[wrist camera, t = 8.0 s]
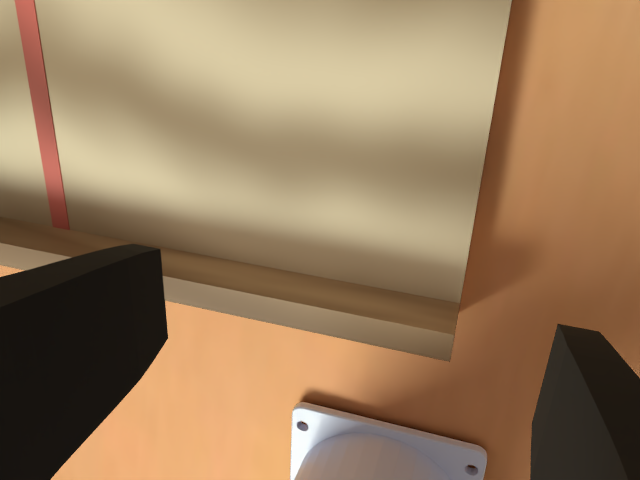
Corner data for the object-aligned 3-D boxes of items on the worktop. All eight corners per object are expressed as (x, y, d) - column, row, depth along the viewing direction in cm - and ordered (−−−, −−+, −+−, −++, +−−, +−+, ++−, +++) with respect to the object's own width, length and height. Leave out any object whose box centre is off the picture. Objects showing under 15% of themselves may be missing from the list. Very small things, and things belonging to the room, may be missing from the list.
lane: (457, 313, 20) (449, 361, 18) (-129, 200, 27) (-196, 222, 25) (530, -108, 15) (533, -128, 12) (-225, -113, 22) (-325, -127, 19)
